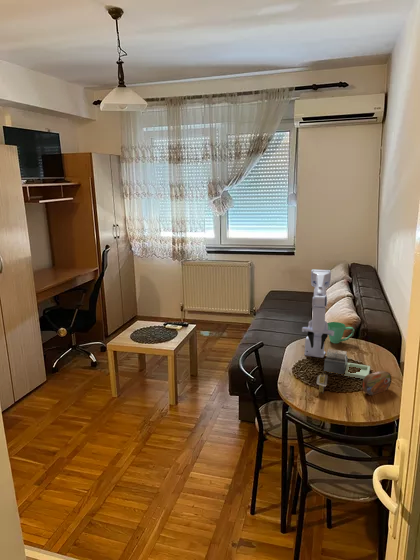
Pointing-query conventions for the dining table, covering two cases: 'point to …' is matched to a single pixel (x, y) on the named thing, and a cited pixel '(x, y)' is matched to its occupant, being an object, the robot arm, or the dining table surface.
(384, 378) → the tin
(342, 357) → the chip
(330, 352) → the chip
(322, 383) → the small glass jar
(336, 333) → the mug
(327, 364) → the slot block
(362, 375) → the tray
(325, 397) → the dining table surface
